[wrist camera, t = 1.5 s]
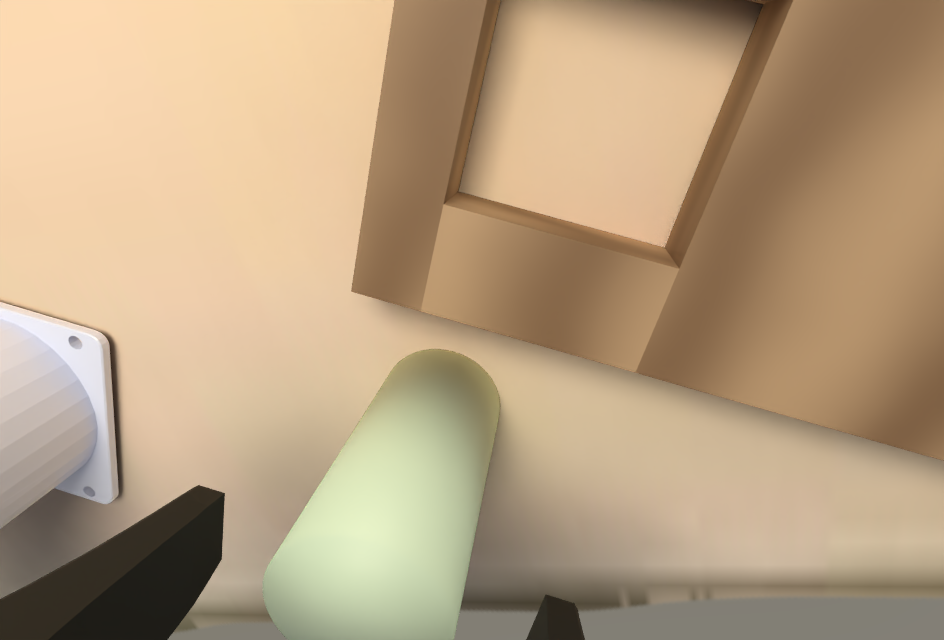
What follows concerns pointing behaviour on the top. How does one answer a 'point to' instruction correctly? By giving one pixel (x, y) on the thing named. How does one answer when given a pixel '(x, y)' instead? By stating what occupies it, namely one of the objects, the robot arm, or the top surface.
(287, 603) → the peg
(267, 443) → the top surface
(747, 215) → the walnut board
